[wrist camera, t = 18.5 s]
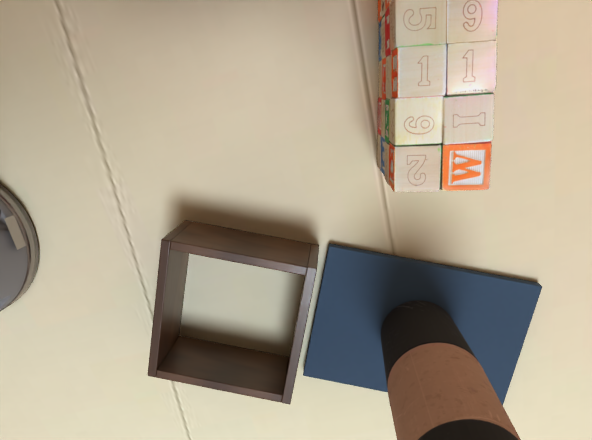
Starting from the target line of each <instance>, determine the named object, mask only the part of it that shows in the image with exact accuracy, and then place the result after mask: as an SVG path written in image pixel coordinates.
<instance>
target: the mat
mask: <svg viewBox="0 0 592 440" xmlns="http://www.w3.org/2000/svg"><path fill="white" fill-rule="evenodd" d="M541 289H542V286H541V285H540V284H539V283H537V282H532V281H526V280H521V279H516V278H510V277H505V276H500V275H495V274H489V273H484V272H479V271H473V270H468V269H463V268H458V267H452V266H447V265H442V264H436V263H431V262H426V261H420V260H415V259H410V258H405V257H399V256H394V255H389V254H383V253H378V252H373V251H368V250H362V249H357V248H352V247H346V246H341V245H336V244H331V243H330V244H329V247H328V252H327V257H326V262H325V267H324V272H323V277H322V282H321V287H320V292H319V297H318V302H317V307H316V312H315V317H314V322H313V327H312V332H311V337H310V341H309V346H308V351H307V356H306V361H305V366H304V372H303V375H304V376H309V377H314V378H319V379H324V380H329V381H334V382H339V383H344V384H349V385H354V386H359V387H364V388H369V389H374V390H379V391H384V392H388V389H387V382H386V375H385V367H384V360H383V352H382V344H381V328H382V325H383V322H384V320H385V318H386V317H387V315H388V314H389V313H390V312H391V311H392V310H393V309H394V308H396V307H397V306H399V305H401V304H403V303H405V302H409V301H415V300H422V301H428V302H432V303H434V304H436V305H438V306H440V307H441V308H443V309H444V310H445V311H446V312H447V313H448V314H449V315H450V317H451V318H452V320H453V321H454V323H455V324H456V326H457V327H458V329H459V331H460V332H461V334H462V335H463V337H464V339H465V340H466V342H467V344H468V345H469V347H470V348H471V350H472V352H473V353H474V355H475V356H476V358H477V360H478V361H479V363H480V365H481V366H482V368H483V370H484V372H485V374H486V376H487V377H488V379H489V381H490V383H491V385H492V387H493V389H494V391H495V393H496V394H497V396H498V398H499V400H500V402H501V404H502V406H503V403H504V400H505V397H506V394H507V391H508V388H509V385H510V382H511V379H512V376H513V373H514V370H515V367H516V364H517V361H518V358H519V355H520V352H521V349H522V346H523V343H524V340H525V337H526V334H527V331H528V328H529V325H530V322H531V319H532V316H533V313H534V310H535V307H536V304H537V301H538V298H539V295H540V292H541Z"/></svg>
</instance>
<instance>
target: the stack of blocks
mask: <svg viewBox="0 0 592 440" xmlns="http://www.w3.org/2000/svg"><path fill="white" fill-rule="evenodd" d="M497 21H498V0H378V23H379V98H378V135H377V165H378V167H379V169H380V171H382V173H383V174H384V177H385V179H386V181H387V183H388V184H389V185H390V186H391V188H392V190H393V191H394V192H430V191H439V190H440V189H441V190H443V191H459V190H485V189H489V188H490V167H491V148H492V145H491V141H492V140H493V131H494V93H493V92H494V91H495V89H496V70H497V42H496V37H497Z"/></svg>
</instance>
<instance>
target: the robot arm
mask: <svg viewBox="0 0 592 440" xmlns="http://www.w3.org/2000/svg"><path fill="white" fill-rule="evenodd" d="M38 258H39V249H38V241H37V237H36V233H35V230H34V227H33V225H32V222H31V220H30V218H29V216H28V214H27V213H26V211H25V210H24V208H23V207H22V205H21V204H20V203H19V201H18V200H17V199H16V198H15V197H14V196H13V195H12V194H11V193H10V192H9V191H8V190H7V189H6V188H5V187H3V186H2V185H1V184H0V311H1V310H3V309H4V308H6V307H8V306H9V305H11V304H12V303H14V302H15V301H17V300H18V299H19V298H20V297H21V296H22V295H23V294H24V293H25V292H26V291H27V290H28V288H29V287H30V285H31V283H32V282H33V279H34V277H35V274H36V271H37V266H38Z"/></svg>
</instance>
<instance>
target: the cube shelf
mask: <svg viewBox="0 0 592 440" xmlns="http://www.w3.org/2000/svg"><path fill="white" fill-rule="evenodd" d="M318 252H319V245H315V244H309V243H304V242H298V241H293V240H288V239H283V238H277V237H272V236H267V235H261V234H256V233H251V232H246V231H240V230H235V229H230V228H224V227H219V226H214V225H209V224H203V223H198V222H192V221H187V220H185V221H183V222H182V223H181V224H180V225H179V226H177V227H176V228H175V229H174V230H173V231H171V232H170V233H169V234H168V235H166V236H165V237H164V238H163V239H162V241H161V250H160V260H159V270H158V279H157V289H156V299H155V309H154V318H153V328H152V338H151V347H150V357H149V367H148V376H152V377H157V378H162V379H167V380H172V381H177V382H182V383H187V384H192V385H197V386H202V387H207V388H212V389H217V390H222V391H227V392H232V393H237V394H242V395H247V396H252V397H257V398H262V399H267V400H272V401H277V402H282V403H286V404H290V403H291V398H292V393H293V388H294V383H295V377H296V372H297V367H298V362H299V357H300V352H301V347H302V342H303V337H304V332H305V327H306V322H307V317H308V311H309V306H310V301H311V296H312V291H313V286H314V281H315V276H316V271H317V262H318ZM189 253H191V254H196V255H201V256H206V257H211V258H217V259H222V260H227V261H232V262H238V263H243V264H248V265H253V266H258V267H264V268H269V269H274V270H279V271H285V272H290V273H295V274H300V275H305V278H304V283H303V288H302V294H301V299H300V304H299V309H298V315H297V320H296V325H295V330H294V336H293V341H292V346H291V351H290V357H286V356H280V355H275V354H270V353H265V352H260V351H255V350H250V349H245V348H240V347H235V346H230V345H225V344H220V343H214V342H209V341H204V340H199V339H194V338H189V337H184V336H179V331H180V323H181V315H182V306H183V298H184V290H185V281H186V273H187V265H188V256H189Z"/></svg>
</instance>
